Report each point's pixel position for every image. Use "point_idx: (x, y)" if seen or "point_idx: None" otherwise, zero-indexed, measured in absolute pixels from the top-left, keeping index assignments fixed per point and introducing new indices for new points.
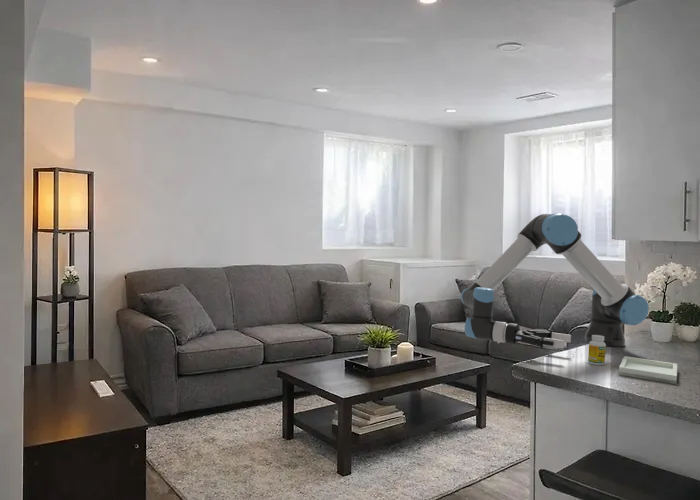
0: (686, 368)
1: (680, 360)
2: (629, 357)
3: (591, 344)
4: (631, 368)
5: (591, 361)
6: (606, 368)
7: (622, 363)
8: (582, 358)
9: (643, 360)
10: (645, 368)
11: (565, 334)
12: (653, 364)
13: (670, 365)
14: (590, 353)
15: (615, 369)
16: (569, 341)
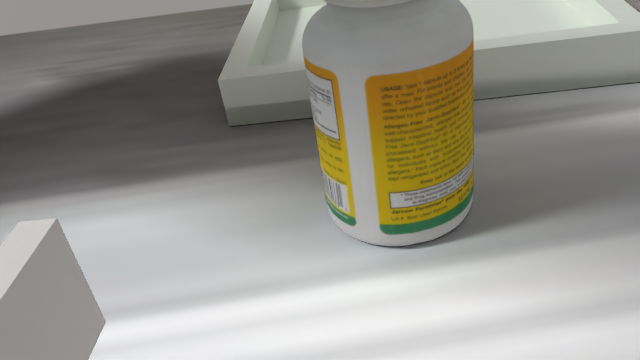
0: (177, 21)
1: (4, 51)
2: (248, 63)
3: (461, 44)
4: (614, 5)
5: (468, 198)
6: (520, 141)
7: (507, 42)
8: (242, 316)
9: (259, 39)
10: None
11: (1, 286)
12: (269, 35)
13: (276, 2)
14: (456, 142)
15: (491, 114)
16: (95, 316)
